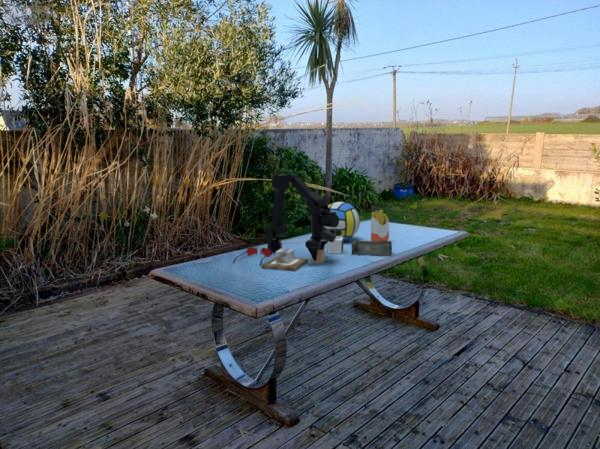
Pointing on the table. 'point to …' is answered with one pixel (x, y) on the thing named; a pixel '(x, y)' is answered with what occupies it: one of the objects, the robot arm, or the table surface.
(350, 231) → the volleyball
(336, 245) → the medicine bottle
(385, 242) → the beverage carton
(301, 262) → the base board
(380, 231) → the french fries container
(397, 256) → the table surface
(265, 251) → the glasses
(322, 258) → the terracotta block
